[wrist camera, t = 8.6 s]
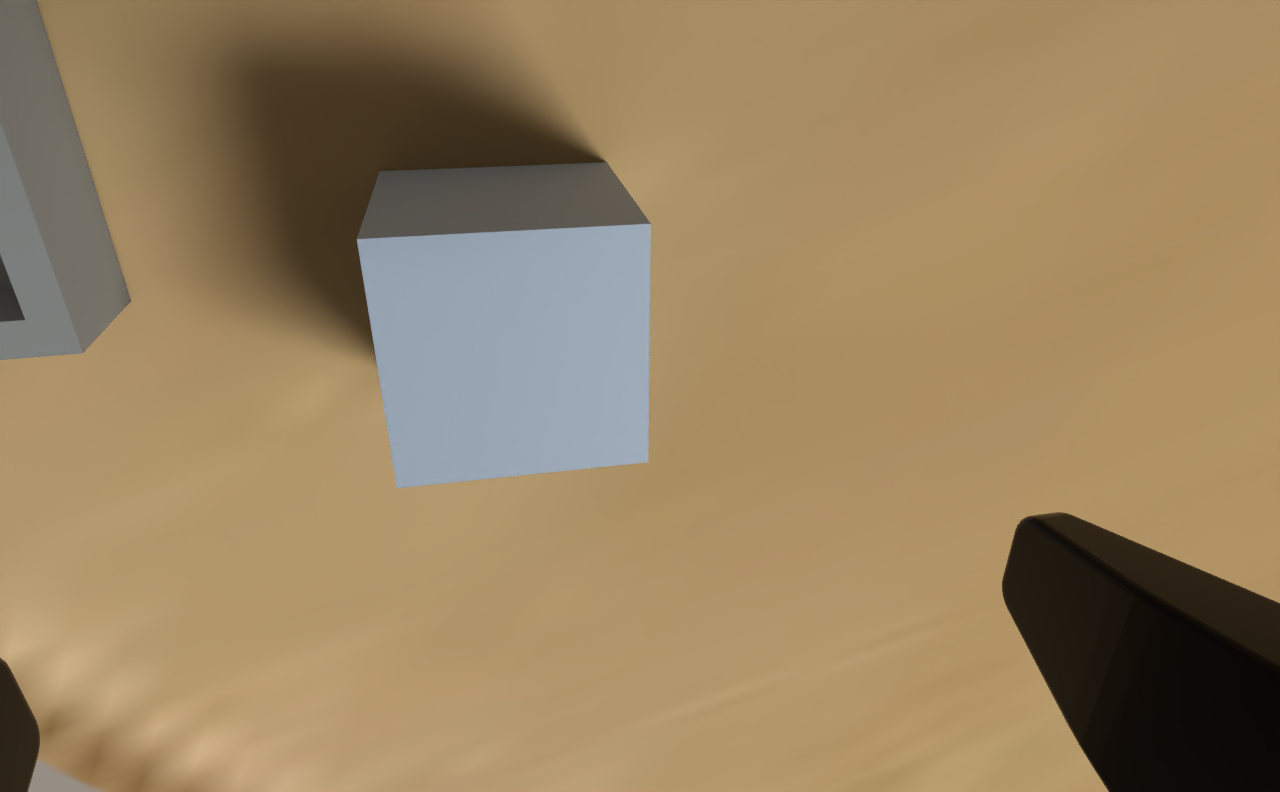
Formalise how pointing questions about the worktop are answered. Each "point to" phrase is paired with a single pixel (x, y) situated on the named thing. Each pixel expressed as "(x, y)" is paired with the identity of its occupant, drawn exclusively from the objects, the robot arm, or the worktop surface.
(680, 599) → the worktop surface
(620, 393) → the slate block
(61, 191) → the tray
